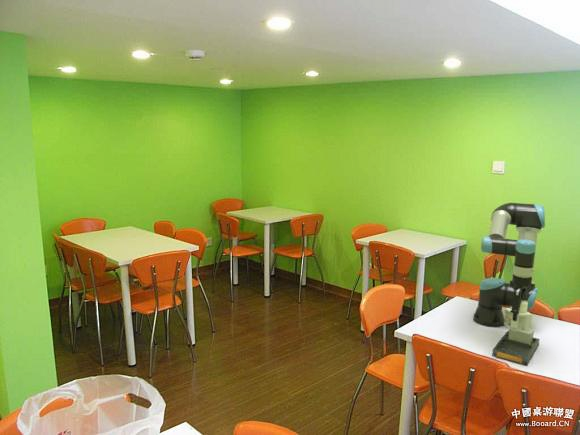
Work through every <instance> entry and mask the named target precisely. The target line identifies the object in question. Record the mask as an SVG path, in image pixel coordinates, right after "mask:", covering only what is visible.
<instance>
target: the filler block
mask: <svg viewBox="0 0 580 435" xmlns="http://www.w3.org/2000/svg"><path fill="white" fill-rule="evenodd" d="M508 331H509V338H508V339H511V340H515V341H518V342H522V343H526V344H530V345H531V343H532V341H533V337H534V333H535V329H534V328H532V327H530V331H513V330H512V329H510V328H509V329H508Z"/></svg>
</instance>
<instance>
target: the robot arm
mask: <svg viewBox="0 0 580 435" xmlns="http://www.w3.org/2000/svg"><path fill="white" fill-rule="evenodd" d="M490 221H491V223H490V227H489V231H488V232H489V233H488V234H487V235H488V236H483V237H482V239H481V244H480V250H481V253H482V252H483V253H486V254H491V255H492V254H494V255H501V256H508V257H509V256H510V257H514V263H513V269H512V273H513V275H512V278H511V279H510V280H509V283H508V282H506V281H505V279H503V278H499V277H487V278H484V279H482V280H481V281H480V283H479V291H478V292H479V293H478V294H479V295H478V301H477V302H478V304H477V307H476V310H475V311H474V313H473V317H472V319H473V321H474V322H475V323H477V324H478V325H481V326H483V327H484V326H485V327H490V328H500V327H504V326H505V324H504V319H505V315H504V312H503V306H506V307H508V308H511V300H512V299H513V304H512V310H511V311H510V312H511V313H512V318H511V327H514V328H518V321H519V309H520V305H521V300H522V299H524V300H526V301H527V302H528V307H527V311H529V310H532V309H534V306H535V302H536V300H537V296H538V291H539V288H538V287H536V283H535V282H534V280H533V279H534V278H533V276H534V273H535V269H534V268H535V267H534V266H535V258H536V251H537V250H536V249H537V240H538V234H539V233H541V232H542V229H544V228H545V226H546V214H545V207H544V206H543V205H541V204H537V203H536V204H534V203H522V202H521V203H520V202H519V203H518V202H508V203H504V204H501V205H499V206H498V207H496V208H495V209H494V210H493V211H492V213H491V215H490ZM509 225H511V226H515V229H516V231H517V232H518V236H517V237H518V238H517V239H509V238H507V231H508V226H509ZM515 310H516V311H515Z"/></svg>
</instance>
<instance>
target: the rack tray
mask: <svg viewBox="0 0 580 435" xmlns="http://www.w3.org/2000/svg"><path fill="white" fill-rule="evenodd" d="M508 338H509V330H507V331H506V332H505V333H504V335H503V336H502V337H501V338H500V340H499V341H498V342H497V344H496V345H495V346H494V347H493V348H492V357H495V358H499V359H501V360H502V359H503V360H505V361H509V362H512V363H516V364H519V365H522V366H527V367H528V365H529V363H530V361H531V360H532V358H533V357H534V354H535V352H536V351H537V349H538V347H539V345H540V338H537V337H534V336H533V341H532V343H531V345H530V344H526V343H522V342H518V341H515V340H511V339H508Z"/></svg>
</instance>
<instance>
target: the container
mask: <svg viewBox="0 0 580 435" xmlns="http://www.w3.org/2000/svg"><path fill="white" fill-rule="evenodd" d="M512 304H513V299H512V300H511V307H506V308H505V311H504V326H506V327H507V328H509V329H512V330H513V331H530V328H531V324H532V318H533V317H532V316H533V315H532V313H530V312H529V311H528V309H527V307H528V302H527V301H526V300H524V299H522V300H521V305H520V309H519V321H518V328H514V327H511V318H512V313H511V312H510V311H511V310H512ZM515 311H516V310H515Z"/></svg>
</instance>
